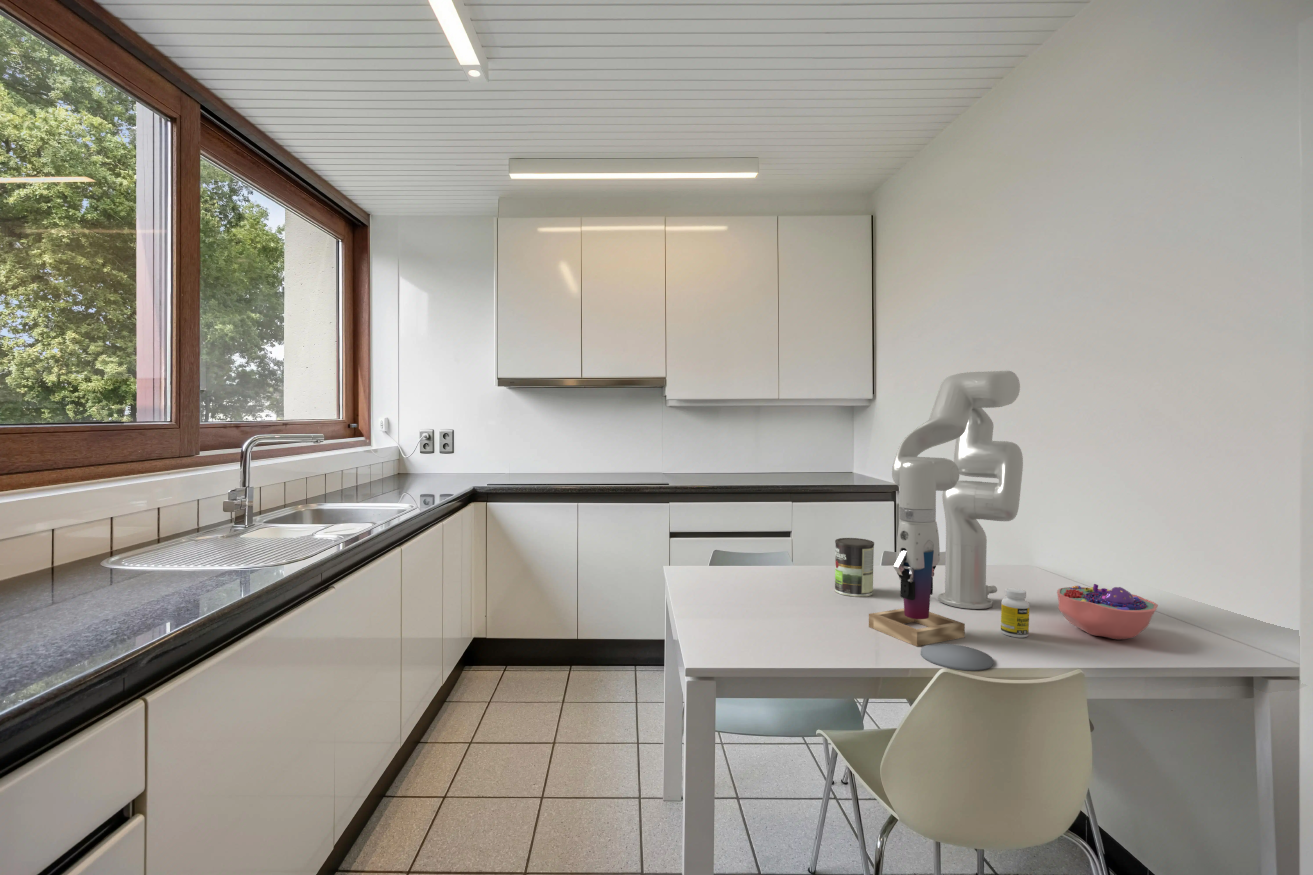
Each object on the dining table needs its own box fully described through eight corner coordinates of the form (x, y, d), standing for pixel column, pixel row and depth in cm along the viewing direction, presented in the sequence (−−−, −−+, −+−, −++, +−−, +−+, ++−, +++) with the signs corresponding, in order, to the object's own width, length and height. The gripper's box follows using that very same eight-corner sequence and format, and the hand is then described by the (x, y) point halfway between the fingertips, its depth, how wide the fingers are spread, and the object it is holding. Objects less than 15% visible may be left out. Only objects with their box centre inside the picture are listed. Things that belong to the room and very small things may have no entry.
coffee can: (843, 597, 171) (844, 544, 171) (828, 587, 181) (829, 537, 181) (880, 596, 172) (881, 544, 172) (863, 586, 182) (864, 537, 182)
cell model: (1097, 618, 153) (1098, 571, 153) (1179, 647, 134) (1180, 593, 133) (1035, 622, 150) (1036, 574, 150) (1109, 652, 131) (1110, 597, 130)
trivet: (952, 642, 136) (952, 640, 136) (1008, 664, 124) (1008, 660, 124) (906, 651, 130) (906, 648, 130) (960, 674, 119) (960, 671, 119)
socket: (914, 619, 152) (914, 606, 152) (964, 637, 139) (964, 623, 139) (868, 626, 146) (868, 613, 146) (916, 646, 134) (917, 632, 134)
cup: (906, 620, 140) (907, 552, 139) (895, 611, 147) (896, 545, 146) (938, 620, 140) (938, 552, 139) (925, 611, 147) (926, 545, 146)
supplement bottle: (1018, 639, 138) (1019, 594, 138) (995, 632, 143) (996, 588, 143) (1034, 635, 141) (1035, 591, 140) (1010, 628, 145) (1011, 585, 145)
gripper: (909, 521, 134) (908, 606, 135) (954, 514, 144) (954, 593, 145) (878, 517, 141) (878, 598, 141) (924, 510, 150) (923, 586, 151)
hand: (916, 595), depth 143 cm, fingers closed on cup, 6 cm apart
